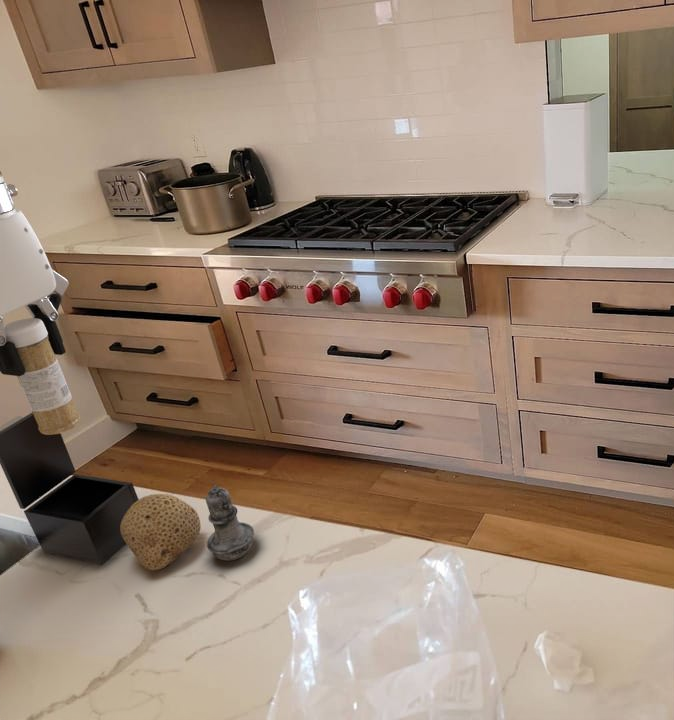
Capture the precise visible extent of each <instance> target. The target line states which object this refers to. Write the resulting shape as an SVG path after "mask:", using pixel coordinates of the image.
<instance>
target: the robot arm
mask: <svg viewBox="0 0 674 720" xmlns="http://www.w3.org/2000/svg"><path fill="white" fill-rule="evenodd" d="M16 196H18V189H17V187H16V186H15V184H12V183H8V184H7V183H6V181H5V179H4V177H3V174H2V172H1V170H0V373H1V374H2V375H4V376H14V377H17V376H22V375H24V374H25V372H26V371H25V368H24V366H23V364H22V361H21V359H20V356H19V354H18V352H17V349H16V347H15V345H14V343H13V342H7V340H6V334H5V327H4V325H5V321H4V316H5V315H8V314H10V313H12V312H15V311H17V310H20V309H22V308H24V307H25V309H26V311H28V313H29V314H30V316H31V318H37V319H41V320H42V321H43V323H44V325H45V328H46V330H47V332H48V340H49V342H50V345H51V347H52V350H53V352H54V354H55V356H56V355H58V356H62V355H64V354H66V352H67V351H66V348H65V346H64V340H63V337H62V335H61V333H60V329H59V327H58V325H57V321H58V320H59V319H60V314H59V313H58V310H59V308H60V306H61V303H62V297H63V296H64V294H65V293H66V291H67V290H68V287H69V281H68V279H66V278H65V277H64V276H62V275H60V274H59V273H58V272H56V271H55V270H54V269H53V268H52V265H51V264H50V261H49V259H48V256H47V255H46V252H45V250H44V248H43V246H42V244H41V241H40V239H39V238H38V236H37V234H36V233H35V231H34V228H33V227H32V225H31V224H30V222H29V221H28V218H26V216H25V215H24V213H23V212H22V210H21V209H18V208H16V207H15V204H14V200H13V199H12V198H13V197H16Z"/></svg>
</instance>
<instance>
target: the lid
mask: <svg viewBox="0 0 674 720" xmlns="http://www.w3.org/2000/svg"><path fill="white" fill-rule="evenodd" d="M0 467H1V469H2V471H3V474H4V475H5V478H6V480H7V482H8V484H9V487H10V489H11V491H12V494H13V495H14V498H15V500H16V502H17V504H18V506H19V509H21V510H26V509H28V508H29V507H30V506H32V505H33V504H34V503H36V502H37V501H39V500H40V499H41V498H43V497H44V496H45V495H47V494H48V493H50V492H51V491H52V490H54V489H55V488H56V487H58V486H59V485H61V484H62V483H63V482H65V481H66V480H68V479H69V478H70V477H72V476H73V475H74V474H76V471H77V470H76V469H75V466H74V463H73V461H72V459H71V456H70V454H69V451H68V448H67V446H66V444H65V440H64V438H63V435H62V433H59V434H52V435H46V434H42V433H41V432H40V431H39V426H38V423H37V421H36V419H35V417H34V414H33V412H32V411H31V412H30V413H28V414H27V415H25V416H24V417H23V416H21V415H17V416H15V417H13V418H11V419H10V420H8V421H6V422H4V423H3V424H1V425H0Z"/></svg>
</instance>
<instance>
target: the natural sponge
mask: <svg viewBox="0 0 674 720" xmlns="http://www.w3.org/2000/svg"><path fill="white" fill-rule="evenodd" d="M200 530H201V520H200V516H199V514H198V512H197V510H196V509H195V508H194V507H192V506H191V505H190V504H188V503H187V502H185V501H184V500H182V499H180V498H179V497H176V496H174V495H172V494H168V493H155V494H149V495H146V496H143V497H142V498H139V500H138V501H136V502H135V503H134V504H133V505H132V506H131V507H130V508H129V509H128V511H127V512H126V514H125V515H124V517H123V519H122V522H121V525H120V531H121V535H122V537H123V539H124V541H125V542H126V544H125V545H127V547H128V549H130V551H131V552H132V553H133V555H134V556H135V558H136V559H137V561H138V562H139V563H140V564H141V566H143V567H144V568H146V569H148V570H150V571H157V570H161V569H163V568H165V567H168V566H169V565H170V564H172V563H173V562H175V560H177V559H178V558H179V556H180V555H181V554H182V553H184V552H185V551H187V550H188V549H190V548H191V547H192V546H193V545H194V544H195V543H196V541H197V539H198V537H199V535H200Z"/></svg>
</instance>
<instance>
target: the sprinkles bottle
mask: <svg viewBox="0 0 674 720" xmlns="http://www.w3.org/2000/svg"><path fill="white" fill-rule="evenodd" d="M4 327H5V334H6V340H7V342H13V343H14V345H15V347H16V349H17V352H18V354H19V356H20V359H21V361H22V364H23V366H24V368H25V371H26V372H25V374H24V375H22V376H16V377H17V380H18V383H19V385H20V388H21V391H22V393H23V395H24V398H25V400H26V402H27V404H28V407H29V409H30V411H31V413H32V412H33V414H34V417H35V419H36V421H37V423H38V426H39V431H40V432H41V433H42V434H46V435H52V434H59V433H61V434H62V433H65V432H67V431H69V430H70V431H71V430H72V429H73V428H75V427H77V426H78V425H79V423H81V419H82V417H81V415H80V414H79V412H78V410H77V407H76V405H75V403H74V400H73V396H72V394H71V393H72V392H71V391H70V388H69V385H68V383H67V380H66V378H65V376H64V373H63V370H62V368H61V365H60V363H59V361H58V360H59V359H58V358H57V357H56V354H54V352H53V350H52V347H51V345H50V342H49V340H48V332H47V330H46V328H45V325H44V323H43V321H42V320H41V319H37V318H33V317H29V318H21V319H18V320H15V321H14V320H13V321H11V322H9V323H6V324H4Z"/></svg>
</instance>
